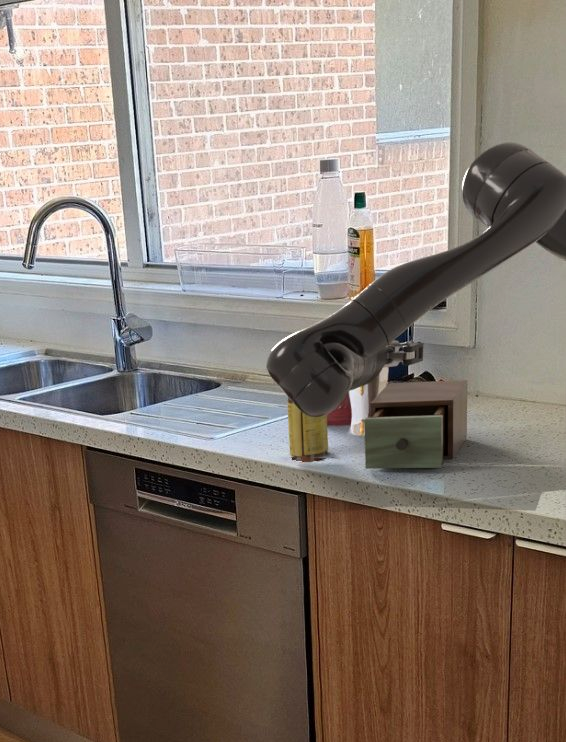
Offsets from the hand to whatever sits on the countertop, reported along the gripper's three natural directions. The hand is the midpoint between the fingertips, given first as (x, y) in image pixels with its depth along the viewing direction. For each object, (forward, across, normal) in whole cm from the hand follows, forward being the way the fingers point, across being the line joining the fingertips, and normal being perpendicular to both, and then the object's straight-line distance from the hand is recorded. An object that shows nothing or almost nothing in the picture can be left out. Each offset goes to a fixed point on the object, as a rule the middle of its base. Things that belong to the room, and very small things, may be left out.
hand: (381, 349), depth 175 cm
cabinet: (+24, 0, +18) cm, 30 cm away
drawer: (+15, -1, +18) cm, 24 cm away
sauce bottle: (+17, +16, +19) cm, 30 cm away
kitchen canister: (+44, +19, +16) cm, 51 cm away
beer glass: (+34, +11, +18) cm, 40 cm away
